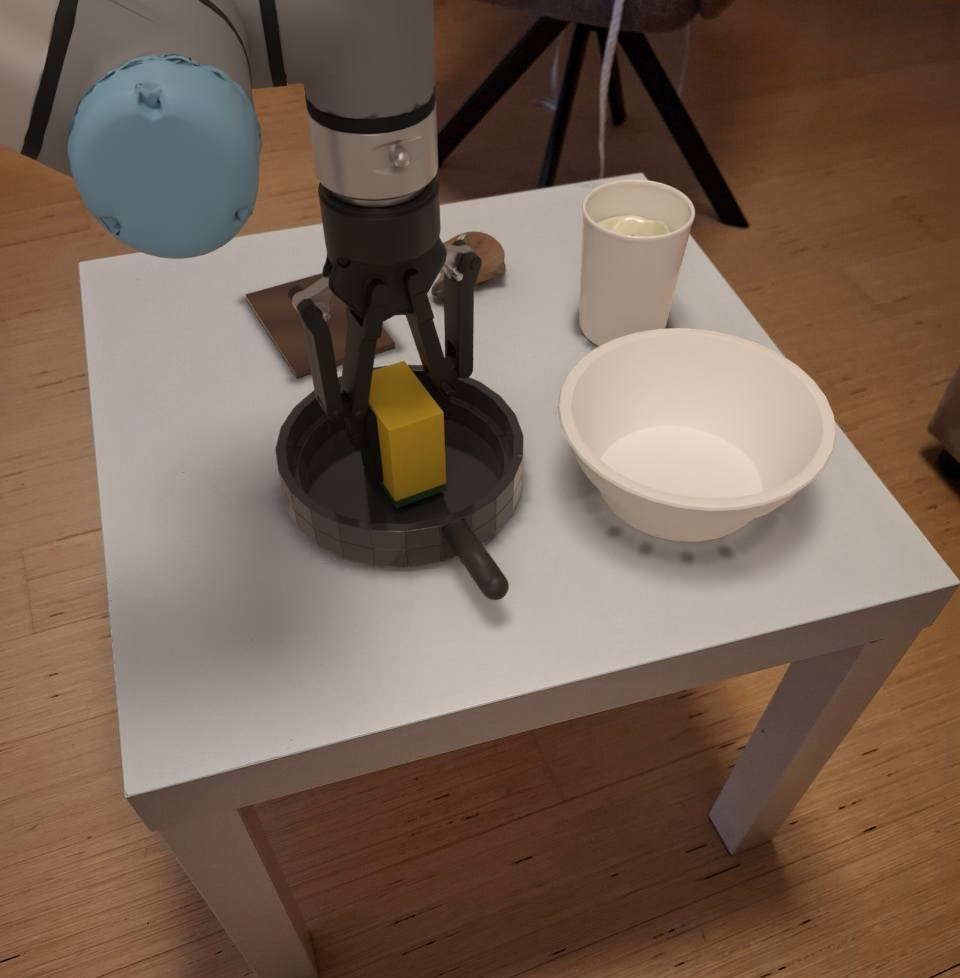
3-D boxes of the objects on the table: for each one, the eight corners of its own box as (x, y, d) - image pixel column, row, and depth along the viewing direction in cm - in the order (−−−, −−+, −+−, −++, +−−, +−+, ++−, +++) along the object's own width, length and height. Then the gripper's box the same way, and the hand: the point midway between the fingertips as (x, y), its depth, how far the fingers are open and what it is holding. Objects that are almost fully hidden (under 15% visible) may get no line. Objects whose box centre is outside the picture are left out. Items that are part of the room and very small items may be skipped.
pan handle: (439, 536, 71) (438, 518, 70) (463, 527, 72) (462, 509, 70) (488, 609, 67) (489, 591, 66) (513, 599, 68) (514, 581, 66)
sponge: (361, 455, 79) (351, 377, 72) (410, 439, 80) (404, 360, 73) (396, 508, 75) (388, 431, 69) (446, 490, 76) (443, 412, 70)
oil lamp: (413, 275, 98) (440, 318, 94) (406, 240, 95) (434, 283, 90) (492, 247, 99) (522, 288, 95) (488, 212, 96) (519, 253, 91)
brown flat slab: (246, 299, 94) (245, 294, 94) (338, 273, 97) (338, 268, 96) (296, 378, 87) (295, 373, 86) (395, 347, 89) (395, 342, 89)
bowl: (727, 384, 86) (748, 305, 80) (857, 543, 74) (894, 466, 68) (514, 436, 82) (517, 357, 75) (616, 614, 70) (630, 539, 64)
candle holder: (643, 288, 95) (662, 170, 86) (690, 344, 90) (716, 224, 80) (555, 309, 93) (564, 190, 84) (597, 366, 88) (612, 247, 78)
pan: (252, 448, 81) (242, 406, 77) (455, 382, 86) (455, 340, 83) (339, 606, 70) (332, 566, 67) (564, 519, 76) (569, 478, 72)
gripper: (263, 243, 53) (319, 528, 72) (532, 172, 58) (519, 456, 77) (221, 183, 57) (284, 468, 76) (476, 121, 62) (476, 403, 81)
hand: (402, 461), depth 76 cm, fingers closed on sponge, 4 cm apart
